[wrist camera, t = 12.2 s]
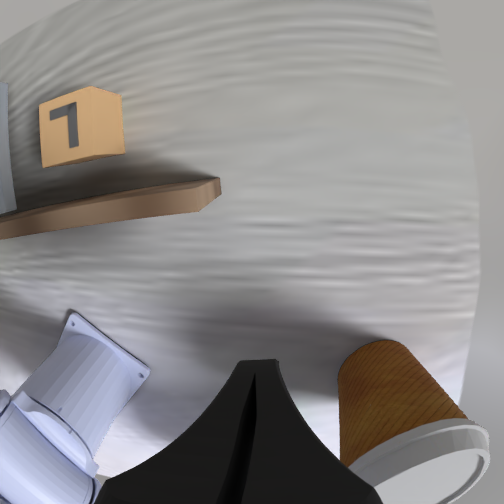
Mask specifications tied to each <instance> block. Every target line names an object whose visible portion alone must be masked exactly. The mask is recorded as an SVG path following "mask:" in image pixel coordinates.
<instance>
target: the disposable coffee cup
mask: <svg viewBox="0 0 504 504" xmlns="http://www.w3.org/2000/svg"><path fill="white" fill-rule="evenodd" d="M427 372H428V371H427V370H426V369H425V368H424V367H423V366H422V365H421V364H420V362H419V361H418V360H417V359H416V358H415V357H414V356H413V354H412V353H411V352H410V351H409V350H408V349H407V348H406V347H405V346H404V345H403V344H401V343H399V342H395V341H389V340H384V341H377V342H373V343H370V344H367V345H365V346H363V347H361V348H360V349H358V350H356V351H355V352H354V353H353V354H351V355H350V356H349V357H348V358H347V359H346V360H345V362H344V363H343V365H342V366H341V368H340V371H339V374H338V393H339V424H340V461H341V462H342V463H343V464H344V465H345V466H346V467H348V468H349V469H350V470H351V471H352V472H354V473H355V474H356V475H357V476H359V477H360V478H361V479H363V480H364V481H365V482H367V483H368V484H370V485H371V486H373V487H374V488H375V490H376V491H377V493H378V495H379V496H380V498H381V500H382V502H383V504H451V503H452V502H454V501H455V500H457V499H458V498H459V497H461V496H462V495H464V494H465V493H466V492H467V491H468V490H470V489H471V488H472V487H473V486H474V485H475V484H476V483H477V482H478V481H479V479H480V478H481V477H482V476H483V474H484V473H485V471H486V470H487V468H488V466H489V462H490V453H489V449H488V446H489V439H490V438H489V435H488V432H487V431H486V429H485V428H484V427H482V426H480V425H478V424H476V423H475V422H474V421H471V420H468V418H467V417H466V415H465V414H463V412H462V411H461V410H460V409H459V408H458V406H457V405H456V404H455V403H454V401H453V400H452V399H451V398H450V397H449V395H448V394H447V393H446V392H444V389H443V388H441V387H440V385H439V384H438V383H437V382H436V380H435V379H434V378H433V377H431V375H430V374H429V373H427Z"/></svg>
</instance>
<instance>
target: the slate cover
mask: <svg viewBox="0 0 504 504" xmlns="http://www.w3.org/2000/svg"><path fill="white" fill-rule="evenodd" d="M16 209H17V206H16V200H15V193H14V186H13V179H12V170H11V160H10V149H9V133H8V83H3V82H0V214H3V213H6V212H10V211H13V210H16Z"/></svg>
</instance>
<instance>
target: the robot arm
mask: <svg viewBox="0 0 504 504" xmlns="http://www.w3.org/2000/svg"><path fill="white" fill-rule="evenodd" d="M72 321H73V322H74V323H73V322H72ZM140 373H141V374H143V375H141V374H140ZM149 374H150V369H149V368H148V367H147V366H146V365H144V364H143V363H141V362H140V361H139V360H137V359H136V358H134V357H133V356H132V355H130V354H129V353H127V352H126V351H125V350H123V349H122V348H121V347H119V346H118V345H117V344H115V343H114V342H113V341H111V340H110V339H109V338H107V337H106V336H105V335H103V334H102V333H101V332H100V331H98V330H97V329H96V328H95V327H93V326H92V325H91V324H90V323H88V322H87V321H86V320H85V319H83V318H82V317H81V316H80V315H79V314H77V313H75V312H73V313H72V314H71V315H70V316H69V318H68V321H67V323H66V325H65V328H64V330H63V332H62V335H61V337H60V340H59V342H58V345H57V347H56V349H55V350H54V351H53V352H52V353H51V355H50V356H49V357H48V358H47V359H46V360H45V361H44V362H43V363H42V364H41V365H40V366H39V367H38V368H37V369H36V370H35V371H34V372H33V373H32V375H31V376H30V377H29V378H28V379H27V380H26V381H25V382H24V383H23V384H22V385H21V386H20V388H19V389H18V390H17V391H16V392H15V393H14V394H13V395H12V396H10V395H9V393H8V392H7V391H6V390H4V389H3V390H0V504H383V502H382V500H381V498H380V496H379V495H378V493H377V491H376V490H375V488H374V487H373V486H371V485H370V484H368V483H367V482H365V481H364V480H363V479H361V478H360V477H359V476H357V475H356V474H355V473H354V472H352V471H351V470H350V469H349V468H348V467H346V466H345V465H344V464H343V463H342V462H341V461H340V460H339V459H338V458H337V457H336V456H335V455H334V454H333V453H332V452H331V451H330V450H329V449H328V448H327V447H326V446H325V445H324V444H323V443H322V442H321V441H320V439H319V438H318V437H317V436H316V435H315V433H314V432H313V431H312V430H311V428H310V427H309V426H308V424H307V423H306V421H305V420H304V418H303V417H302V415H301V414H300V412H299V410H298V409H297V407H296V406H295V404H294V402H293V400H292V398H291V396H290V394H289V392H288V390H287V388H286V386H285V383H284V381H283V378H282V375H281V372H280V368H279V361H277V360H276V359H267V360H243V361H239V362H238V363H237V365H236V367H235V369H234V371H233V372H232V374H231V376H230V377H229V379H228V380H227V382H226V383H225V385H224V386H223V388H222V389H221V391H220V392H219V393H218V395H217V396H216V398H215V399H214V400H213V401H212V403H211V404H210V405H209V406H208V407H207V409H206V410H205V411H204V412H203V413H202V415H201V416H200V417H199V418H198V419H197V420H196V421H195V422H194V423H193V424H192V425H191V426H190V427H189V428H188V429H187V430H186V431H185V432H184V433H183V434H181V435H180V436H179V437H178V438H177V439H175V440H174V441H173V442H172V443H171V444H169V445H168V446H167V447H165V448H164V449H163V450H161V451H160V452H158V453H157V454H155V455H154V456H152V457H151V458H149V459H148V460H146V461H144V462H143V463H141V464H139V465H138V466H136V467H134V468H132V469H130V470H128V471H126V472H123V473H121V474H119V475H117V476H115V477H112V478H110V479H108V480H106V481H105V483H104V484H103V486H102V487H101V484H100V482H99V481H98V480H97V479H96V478H95V475H96V473H97V471H98V469H99V465H98V464H96V463H95V462H94V460H93V458H94V456H95V454H96V452H97V450H98V449H99V447H100V445H101V443H102V441H103V439H104V437H105V436H106V434H107V432H108V430H109V428H110V426H111V424H112V423H113V421H114V419H115V417H116V416H117V415H118V413H119V412H120V411H121V410H122V408H123V407H124V406H125V405H126V403H127V402H128V401H129V400H130V398H131V397H132V396H133V395H134V393H135V392H136V391H137V390H138V388H139V387H140V386H141V385H142V383H143V382H144V381H145V380H146V378H147V377H148V376H149Z"/></svg>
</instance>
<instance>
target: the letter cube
mask: <svg viewBox="0 0 504 504" xmlns="http://www.w3.org/2000/svg"><path fill="white" fill-rule="evenodd" d="M39 123H40V142H41V156H42V166H43V168H46V167H54V166H61V165H70V164H77V163H82V162H86V161H91V160H95V159H100V158H105V157H109V156H114V155H120V154H125V146H124V134H123V120H122V102H121V95H118V94H115V93H112V92H109V91H106V90H102V89H99V88H96V87H93V86H89V87H86V88H83V89H80V90H77V91H74V92H71V93H69V94H66V95H63V96H60V97H58V98H55V99H53V100H50V101H47V102H45V103H43V104H40V105H39Z"/></svg>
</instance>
